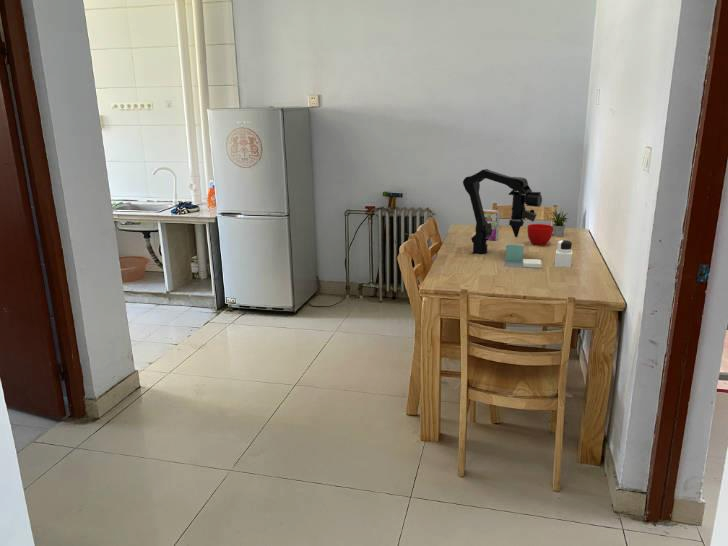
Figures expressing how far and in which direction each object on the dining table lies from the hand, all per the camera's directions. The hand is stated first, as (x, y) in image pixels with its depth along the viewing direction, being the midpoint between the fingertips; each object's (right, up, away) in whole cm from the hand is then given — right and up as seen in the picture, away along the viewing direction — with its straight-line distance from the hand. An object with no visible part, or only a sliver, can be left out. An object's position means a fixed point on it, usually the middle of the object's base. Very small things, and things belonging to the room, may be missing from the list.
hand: (516, 237), depth 275 cm
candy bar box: (-4, +1, +45) cm, 45 cm away
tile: (-2, -12, -4) cm, 12 cm away
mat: (+1, -13, -7) cm, 15 cm away
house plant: (+36, +4, +52) cm, 64 cm away
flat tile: (+4, -14, -12) cm, 19 cm away
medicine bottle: (+18, -14, -11) cm, 26 cm away
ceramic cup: (+22, -2, +32) cm, 39 cm away
